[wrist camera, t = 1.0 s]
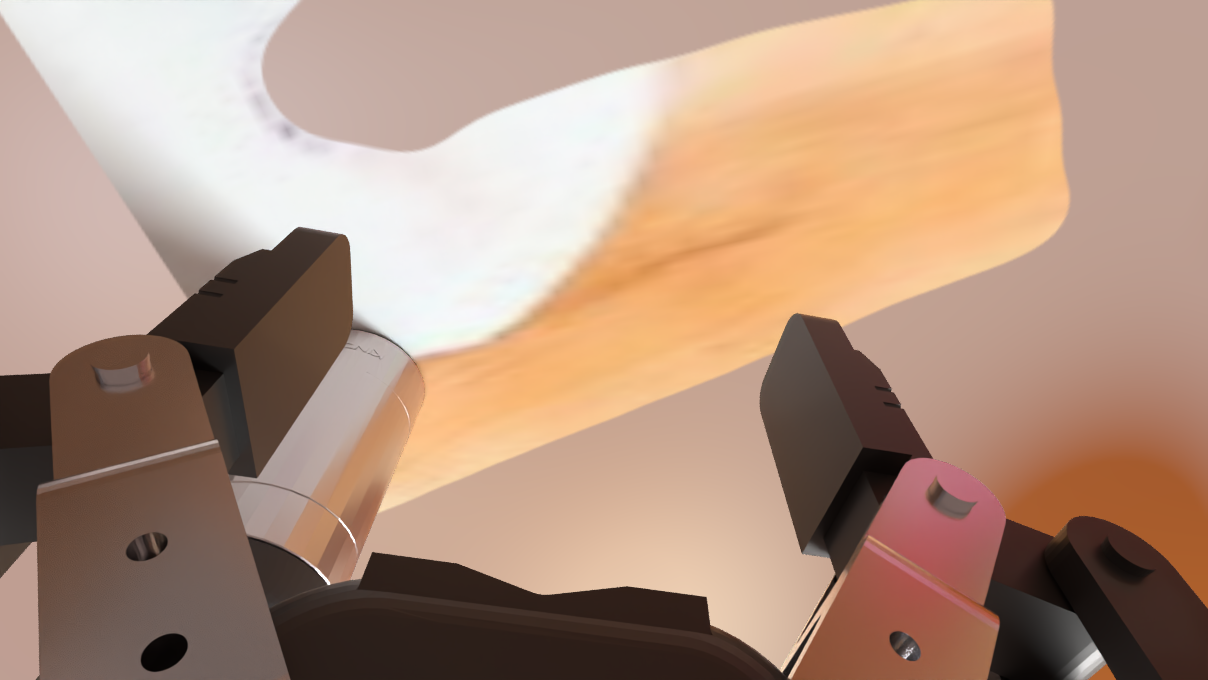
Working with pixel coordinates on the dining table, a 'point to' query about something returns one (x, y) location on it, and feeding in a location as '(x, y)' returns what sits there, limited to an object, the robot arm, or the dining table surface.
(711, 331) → the dining table surface
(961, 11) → the dining table surface
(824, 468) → the robot arm
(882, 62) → the dining table surface
